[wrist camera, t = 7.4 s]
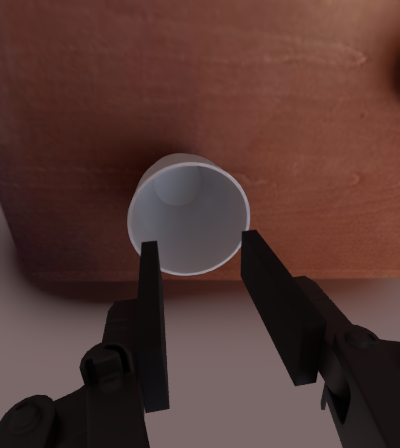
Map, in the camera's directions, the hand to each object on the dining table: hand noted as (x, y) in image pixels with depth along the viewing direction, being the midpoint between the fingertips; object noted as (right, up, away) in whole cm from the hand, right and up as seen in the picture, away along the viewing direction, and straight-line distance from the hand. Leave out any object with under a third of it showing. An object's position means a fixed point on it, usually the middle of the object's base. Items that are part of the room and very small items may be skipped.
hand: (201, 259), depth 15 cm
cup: (-2, +6, +13) cm, 15 cm away
